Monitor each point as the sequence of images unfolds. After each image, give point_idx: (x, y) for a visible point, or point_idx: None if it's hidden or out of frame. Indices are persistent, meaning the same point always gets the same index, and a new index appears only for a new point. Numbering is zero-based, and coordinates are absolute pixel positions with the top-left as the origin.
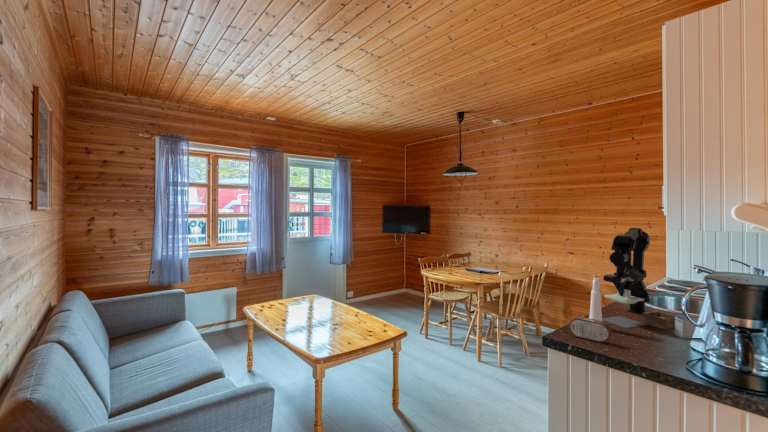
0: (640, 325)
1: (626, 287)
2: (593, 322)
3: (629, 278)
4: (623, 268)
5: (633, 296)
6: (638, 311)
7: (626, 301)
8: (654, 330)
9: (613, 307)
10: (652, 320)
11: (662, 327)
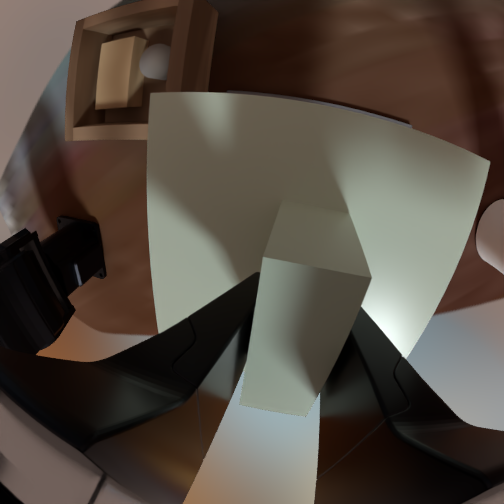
0: (286, 97)
1: (223, 372)
2: None
3: None
4: None
5: (151, 229)
6: (86, 236)
7: (486, 161)
8: (291, 24)
9: (120, 324)
10: (197, 69)
11: (214, 21)
